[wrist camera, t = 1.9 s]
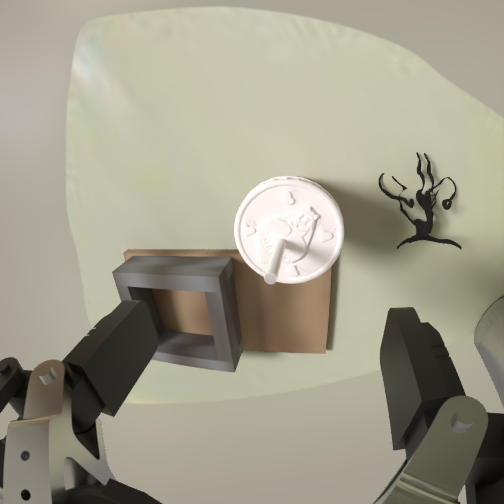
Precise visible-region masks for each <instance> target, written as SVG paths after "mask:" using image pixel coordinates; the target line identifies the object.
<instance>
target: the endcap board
mask: <svg viewBox="0 0 504 504" xmlns="http://www.w3.org/2000/svg"><path fill="white" fill-rule="evenodd" d="M123 254H124V258H125V262H124V263H123V264H122V265H120V266H119V267H118V268H117V269H115V270H114V271H113V272H112V273H113V277H114V280H115V283H116V286H117V289H118V293H119V296H120V299H121V302H122V301H123V300H126V299H127V300H137V301H144V302H146V303H147V305H148V307H149V310H150V314H151V317H152V320H153V323H154V326H155V329H156V332H157V335H158V348H157V351H156V352H155V354H154V356H153V357H152V360H157V361H162V362H167V363H173V364H179V365H185V366H191V367H197V368H204V369H211V370H219V371H227V372H235V370H236V367H237V365H238V362H239V359H240V356H241V353H242V350H255V351H269V352H288V353H320V354H325V353H326V343H327V332H328V319H329V306H330V289H331V268H332V266H331V267H330V268H329V269H328V270H327V271H326V272H325V273H323V274H322V275H320V276H318V277H317V278H315V279H312V280H310V281H306V282H302V283H294V284H288V283H280V282H275V283H274V284H268V283H266V282H265V280H264V277H263V276H262V275H260V274H258V273H257V272H256V271H254V270H253V269H252V268H251V267H250V266H249V265H248V264H247V263H246V262H245V260H244V259H243V257H242V256H241V254H240V252H239V250H127V251H125V252H124V253H123Z"/></svg>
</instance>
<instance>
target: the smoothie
mask: <svg viewBox="0 0 504 504" xmlns="http://www.w3.org/2000/svg"><path fill="white" fill-rule="evenodd" d="M234 235H235V241H236V244H237V247H238V250H239V252H240V254H241V256H242V257H243V259H244V260H245V262H246V263H247V264H248V265H249V266H250V267H251V268H252V269H253V270H254V271H256V272H257V273H258V274H260V275H262V276H263V277H264V280H265V282H266V283H268V284H274V283H275V282H280V283H288V284H294V283H302V282H306V281H310V280H312V279H315V278H317V277H318V276H320V275H322V274H323V273H325V272H326V271H327V270H328V269H329V268H330V267H331V266H332V265H333V264H334V262H335V261H336V260H337V258H338V256H339V254H340V252H341V249H342V246H343V241H344V223H343V216H342V214H341V211H340V208H339V206H338V204H337V202H336V201H335V200H334V198H333V197H332V196H331V194H330V193H329V192H328V191H327V190H325V189H324V188H323V187H322V186H320V185H319V184H318V183H315V182H313V181H311V180H308V179H306V178H304V177H298V176H281V177H274V178H272V179H269V180H267V181H265V182H262V183H260V184H259V185H258V186H257V187H255V188H254V189H253V190H252V191H250V192H249V194H248V195H247V197H246V198H245V199H244V201H243V202H242V204H241V206H240V208H239V210H238V212H237V215H236V219H235V225H234Z"/></svg>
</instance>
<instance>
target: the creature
mask: <svg viewBox="0 0 504 504" xmlns="http://www.w3.org/2000/svg"><path fill="white" fill-rule="evenodd" d="M424 155H425V158H426V159H427V162H428V165H427V174H428V175H429V177H430V179H431V182H432V188H431V189H428V191H426V193H425V195H423V194H422V193H421V192H422V190H423V188H424V184H425V178H424V175H423V173H422V172H421V160H420V157H419V154H418V152H417V156H418V159H419V162H418V167H417V174H418V175H420V177H421V179H422V182H423V187H422V189H420V190H418V191H417V193H416V199H417V202H418V203H419V205H420V206H421V207H422V208H423V209H424V211H425V214H426V218H427V221H426V222H423V221H421V220H420V219H416V220H414V221H413V220H412V219H410V218H409V216H408V215H407V213H406V212H405V210H404V209H403V208H402V204H401V202H400V200H403V201H404V202H405V204H406V205H408V206H409V207H410V208H413V205H414V201H413V199H410V201H409V202H408V201H407V199H405V198H403V197H400V195H399V196H393V195H391V194H390V193H388V192H387V191H386V190H384V189H383V188H382V186H381V182H380V179H381V177H382V175H383V174H384V173H383V174H382V175H381V176H380V178H379V187H380V189H381V190H382V191H383V192H384V193H385V194H386V195H387V196H389V197H390V198H392V199H398V200H399V202H400V210H401V211H402V213H403V214H404V215H405V216H406V217H407V218H408V219H409V220H410V221H411V222H412V224H413V225H415V226H416V235H414V236H412V237H411V238H407V239H406V240H404V241H403V242H402V243H400V244H399V245H398V247H397V249H398V248H399V247H400V246H401V245H403V244H405V243H411V242H414V241H418V240H428V241H433V242H438V243H446V244H452V245H455V246H457V247H458V248H460V249H461V246H460V245H459V244H457V243H455V242H454V241H452V240H449V239H437V238H434V237H431V236H429V235H428V234H429V233H431V231H432V227H433V215H434V214H433V212H432V208H433V206H434V205H435V203H436V201H435V203H434V205H433V206H432V207H431V205H432V202H433V201H434V200H433V201H432V202H431V196H432V195H431V196H430V192H432V193H433V189H434V188H436V187H437V186H438V185H439V184H441V183H442V181H443V180H444V179H445V178H444V179H442V180H441V181H440V183H439V184H438V185H437V186H435V187H433V185H434V178H433V176H432V174H431V164H430V161H429V160H428V158H427V156H426V154H425V153H424ZM392 178H393V179H394V181H396V182H397V183H398V181H397V180H396V179H395V178H394V177H393V176H392ZM447 178H449V177H447ZM449 179H450V180H451V181H452V182H453V180H452V179H451V178H449ZM398 184H399V185H401V184H400V183H398ZM453 184H454V187H455V192H454V193H453V195H452V196H451V197H450V199H445V200H443V201H442V205H443V208H444V209H446V210H449V208H450V207H451V203H452V201H451V200H452V199H453V198H454V197H455V194H456V186H455V183H454V182H453ZM401 186H402V187H403V190H405V189H407V188H406V187H404V186H403V185H401ZM438 191H439V190H438ZM437 193H438V192H437ZM437 193H436V194H434V196H435V197H436V195H437ZM400 194H401V193H400ZM434 199H435V200H436V198H434ZM447 202H449V203H448V205H447Z"/></svg>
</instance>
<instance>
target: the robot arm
mask: <svg viewBox="0 0 504 504" xmlns="http://www.w3.org/2000/svg"><path fill="white" fill-rule="evenodd" d="M474 342H475V346H476V348H477V350H478V352H479V354H480V355H481V358H482V359H483V362H484V364H485V366H486V368H487V370H488V372H489V374H490V377H491V379H492V381H493V383H494V386H495V388H496V390H497V392H498V395H499V397H500V400H501V402H502V405H503V407H504V297H502V298H501V299H499V300H498V301H497V302H495V303H494V304H493V305H492V306H491V307H490V308H489V309H488V310H487V311H486V313H485V314H484V315H483V317H482V318H481V320H480V322H479V324H478V326H477V328H476V331H475V336H474ZM444 345H445V344H444V342H443V340H442V338H441V336H440V334H439V332H438V331H437V330H436V329H435V328H434V327H433V326H432V325H430V324H429V323H428V322H426V323H421V322H420V319H419V317H418V315H417V313H416V311H415V309H414V308H413V307H405V308H390V309H389V311H388V315H387V320H386V325H385V330H384V335H383V339H382V344H381V349H380V365H381V371H382V376H383V381H384V386H385V393H386V399H387V404H388V411H389V418H390V426H391V434H392V442H393V450H400V449H406V460H405V461H404V462H403V464H402V465H401V467H400V468H399V469H398V471H397V472H396V474H395V475H394V477H393V478H392V479H391V481H390V482H389V483H388V485H387V486H386V487H385V489H384V490H383V491H382V493H381V494H380V495H379V496H378V497H377V499H376V500H375V501H374V502H373V503H372V504H460V502H458V496H459V493H460V492H461V490H462V488H463V486H464V485H465V486H466V498H467V504H504V414H500V413H487V412H486V409H485V408H484V406H483V405H482V404H481V403H480V402H479V401H477V400H476V399H474V398H472V397H469V396H466V394H465V392H464V389H463V387H462V384H461V381H460V379H459V376H458V374H457V372H456V369H455V367H454V365H453V363H452V360H451V357H449V353H448V351H447V349H446V347H445V346H444ZM157 348H158V335H157V332H156V329H155V326H154V323H153V320H152V317H151V314H150V310H149V307H148V305H147V303H146V302H144V301H137V300H127V299H126V300H123V301H122V302H121V303H120V304H119V305H118V306H117V307H116V308H115V309H114V310H113V312H112V313H110V314H108V315H107V316H105V317H104V318H102V319H101V320H100V321H99V322H98V323H97V324H96V325H95V326H94V329H91V330H90V331H89V333H88V334H87V336H85V337H84V338H83V339H82V340H81V341H80V342H79V343H78V344H77V345H76V346H75V348H74V349H73V350H72V351H71V352H70V353H69V354H68V355H67V356H66V357H65V358H64V360H63V361H62V362H61V361H59V360H48V361H45V362H43V363H41V364H39V365H38V366H37V367H36V368H35V369H34V370H33V371H28V370H23V368H22V367H21V365H20V364H19V362H18V360H17V359H15V358H13V357H9V358H5V359H3V360H1V361H0V413H1V411H2V410H3V409H4V407H5V406H6V405H7V403H8V402H9V403H10V405H11V406H12V407H13V408H14V410H15V411H16V412H17V413H18V414H19V418H18V419H17V420H14V421H11V422H10V423H9V425H8V430H7V435H6V436H5V438H4V439H2V440H0V504H162V503H160V502H159V501H157V500H155V499H154V498H152V497H151V496H149V495H148V494H146V493H145V492H142V491H139V490H137V489H134V488H131V487H129V486H127V485H125V484H122V483H120V482H118V481H116V479H115V477H114V475H113V474H112V472H111V471H110V469H109V466H108V463H107V458H106V452H105V446H104V440H103V432H102V424H101V420H100V419H99V417H98V416H99V415H100V413H101V412H102V413H105V414H107V415H110V416H113V417H114V416H115V414H116V413H117V411H118V410H119V408H120V407H121V405H122V403H123V402H124V400H125V399H126V397H127V396H128V394H129V393H130V391H131V389H132V388H133V386H134V385H135V383H136V382H137V380H138V379H139V377H140V375H141V374H142V372H143V371H144V369H145V368H146V366H147V365H148V363H149V362H150V360H151V359H152V357H153V356H154V354H155V352H156V351H157Z"/></svg>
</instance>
